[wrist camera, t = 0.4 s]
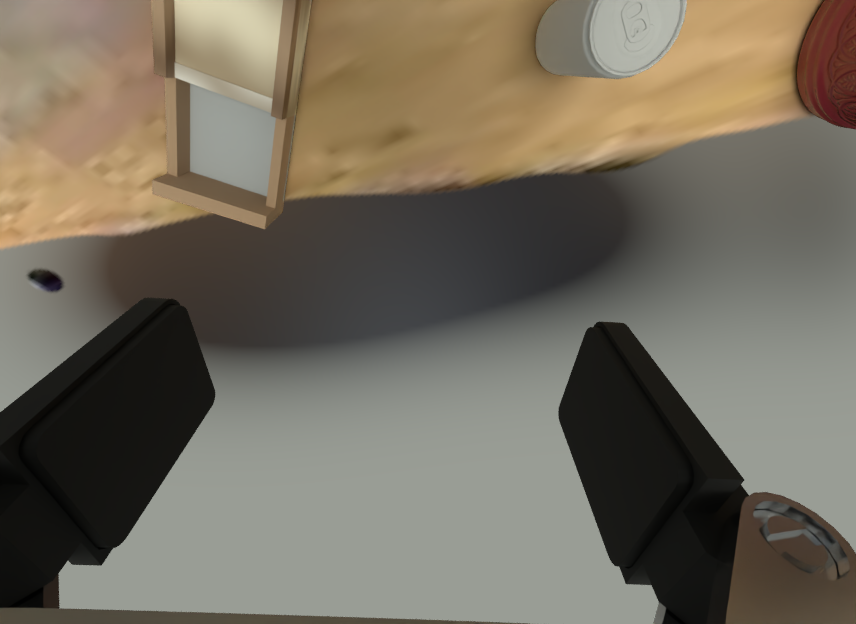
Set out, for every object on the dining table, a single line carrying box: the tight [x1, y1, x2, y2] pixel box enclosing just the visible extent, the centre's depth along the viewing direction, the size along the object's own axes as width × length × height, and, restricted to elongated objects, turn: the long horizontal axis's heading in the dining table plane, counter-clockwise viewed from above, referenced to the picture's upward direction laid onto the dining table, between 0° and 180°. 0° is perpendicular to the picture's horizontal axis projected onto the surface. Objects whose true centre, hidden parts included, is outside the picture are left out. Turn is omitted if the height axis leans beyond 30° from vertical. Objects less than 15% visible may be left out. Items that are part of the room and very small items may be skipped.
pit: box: [152, 77, 296, 229], centre depth 31 cm, size 9×9×4 cm
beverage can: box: [535, 0, 687, 79], centre depth 23 cm, size 5×5×12 cm
